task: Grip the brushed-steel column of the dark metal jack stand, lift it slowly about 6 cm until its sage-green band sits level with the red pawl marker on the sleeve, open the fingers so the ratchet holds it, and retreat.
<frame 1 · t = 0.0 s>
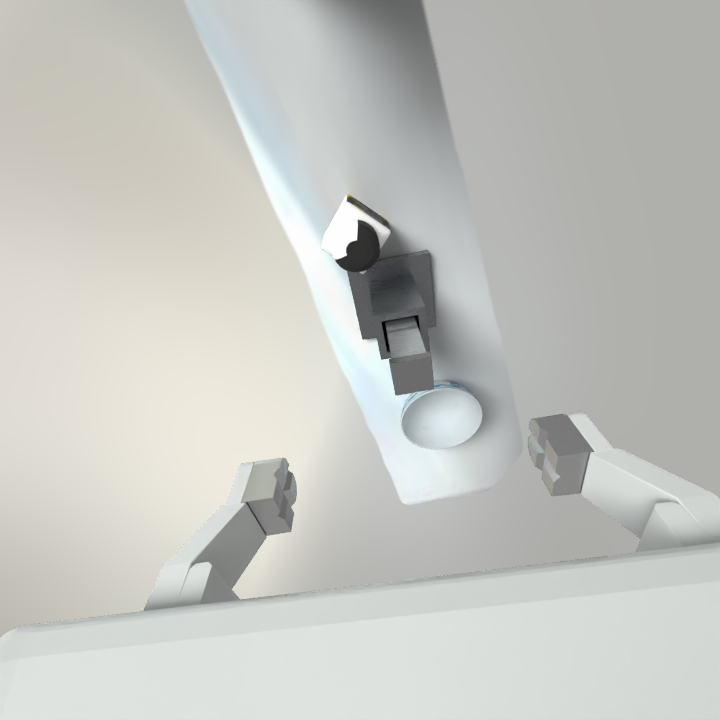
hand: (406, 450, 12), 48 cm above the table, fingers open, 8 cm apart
chinaware: (433, 394, 72), on the table
column: (401, 330, 50), point 12 cm above the table, slide at 0.0 cm
stand base: (392, 295, 60), on the table
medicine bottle: (355, 227, 54), on the table
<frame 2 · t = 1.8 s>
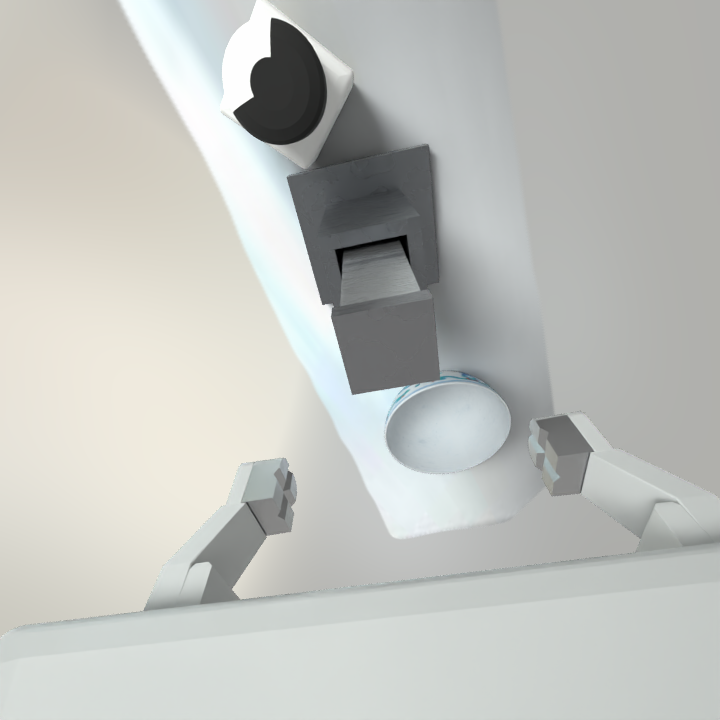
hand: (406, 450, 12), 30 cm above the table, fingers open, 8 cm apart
chinaware: (434, 391, 49), on the table
column: (375, 271, 26), point 13 cm above the table, slide at 0.0 cm
stand base: (368, 230, 37), on the table
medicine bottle: (298, 98, 31), on the table
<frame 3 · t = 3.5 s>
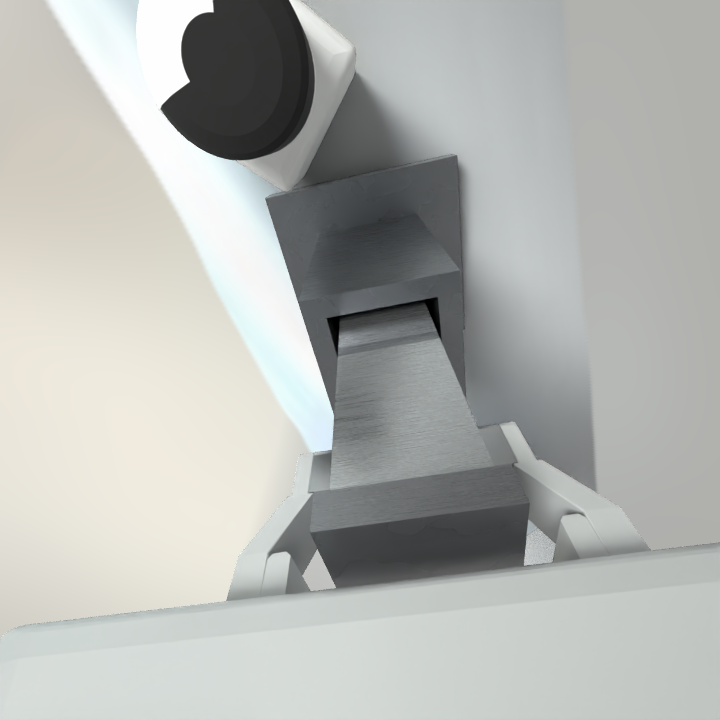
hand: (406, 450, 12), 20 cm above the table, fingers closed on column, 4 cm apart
column: (388, 343, 18), point 12 cm above the table, slide at 0.0 cm, touching gripper, stand base
stand base: (374, 264, 28), on the table
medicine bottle: (279, 92, 22), on the table
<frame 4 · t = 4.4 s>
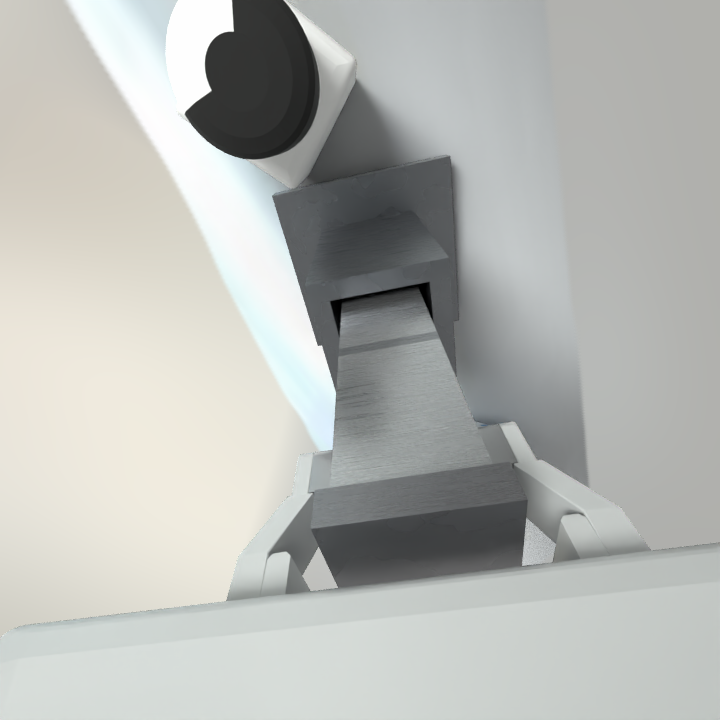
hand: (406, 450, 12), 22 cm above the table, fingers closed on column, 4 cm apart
column: (388, 344, 18), point 14 cm above the table, slide at 2.0 cm, touching gripper
stand base: (373, 258, 30), on the table
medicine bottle: (285, 98, 24), on the table
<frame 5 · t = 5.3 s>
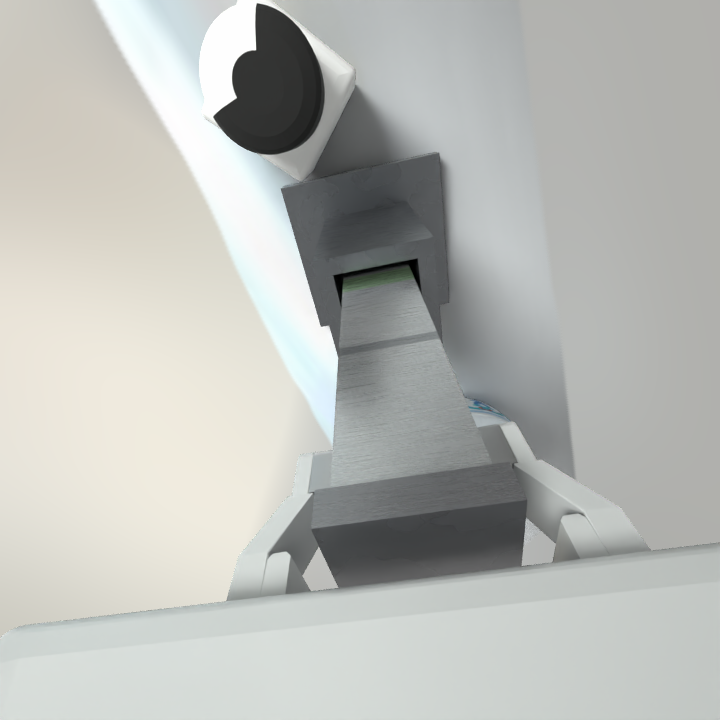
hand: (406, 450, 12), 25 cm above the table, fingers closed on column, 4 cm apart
chinaware: (442, 416, 45), on the table
column: (388, 344, 18), point 18 cm above the table, slide at 5.7 cm, touching gripper
stand base: (371, 246, 33), on the table
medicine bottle: (293, 101, 27), on the table
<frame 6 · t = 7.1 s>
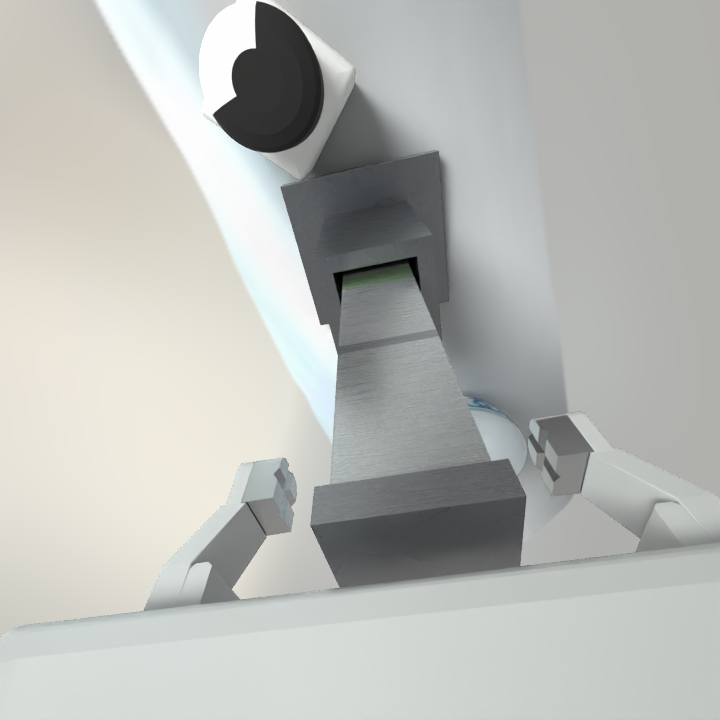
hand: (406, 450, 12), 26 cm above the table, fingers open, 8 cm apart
chinaware: (441, 415, 45), on the table
column: (388, 342, 18), point 18 cm above the table, slide at 5.8 cm
stand base: (371, 244, 33), on the table
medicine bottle: (292, 99, 27), on the table
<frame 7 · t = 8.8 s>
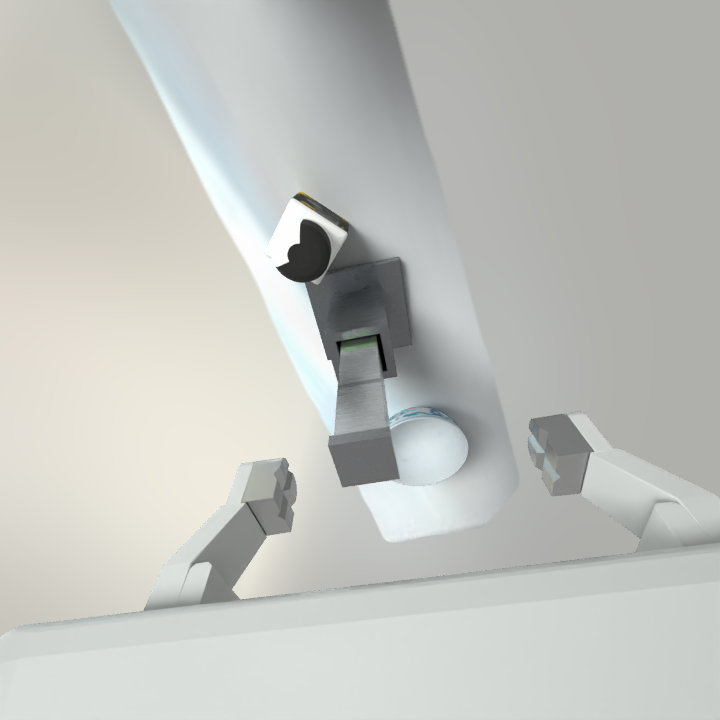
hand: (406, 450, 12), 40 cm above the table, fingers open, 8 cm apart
chinaware: (414, 421, 63), on the table
column: (362, 380, 36), point 18 cm above the table, slide at 5.8 cm
stand base: (360, 309, 52), on the table
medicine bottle: (312, 231, 46), on the table
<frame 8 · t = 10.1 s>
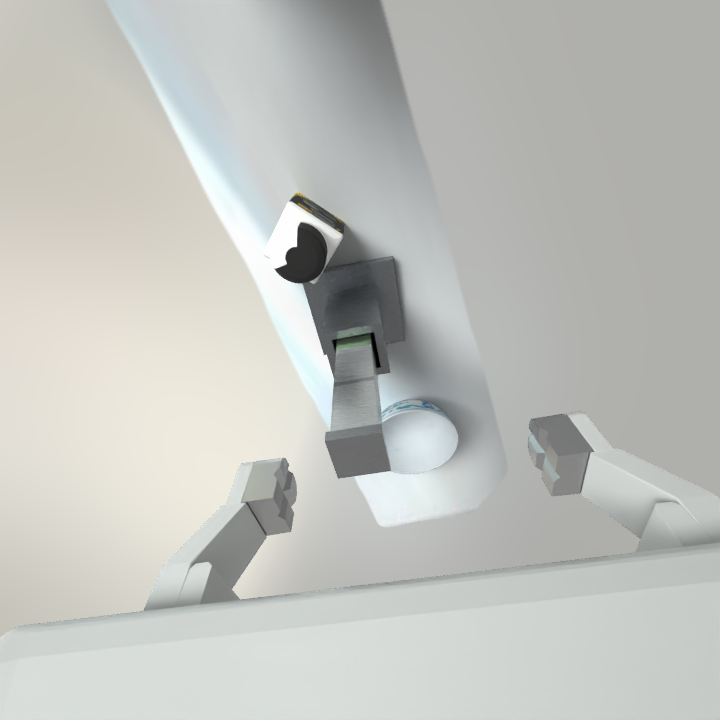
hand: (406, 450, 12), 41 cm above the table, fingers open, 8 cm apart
chinaware: (407, 412, 66), on the table
column: (357, 377, 38), point 18 cm above the table, slide at 5.8 cm
stand base: (355, 306, 54), on the table
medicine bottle: (308, 230, 48), on the table
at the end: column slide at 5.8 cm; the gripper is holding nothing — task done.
